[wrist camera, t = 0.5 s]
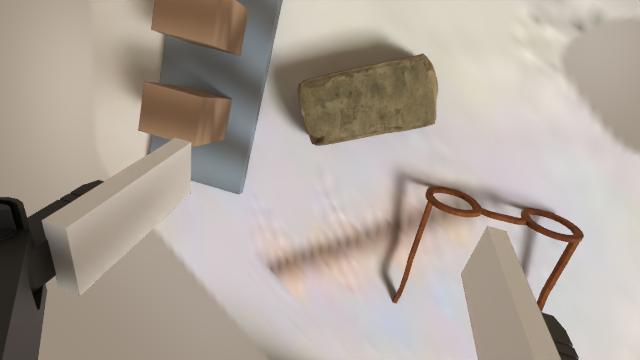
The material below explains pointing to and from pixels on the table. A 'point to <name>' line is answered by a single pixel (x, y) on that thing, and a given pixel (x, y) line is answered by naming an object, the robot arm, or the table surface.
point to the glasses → (523, 220)
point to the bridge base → (211, 83)
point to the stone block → (369, 100)
